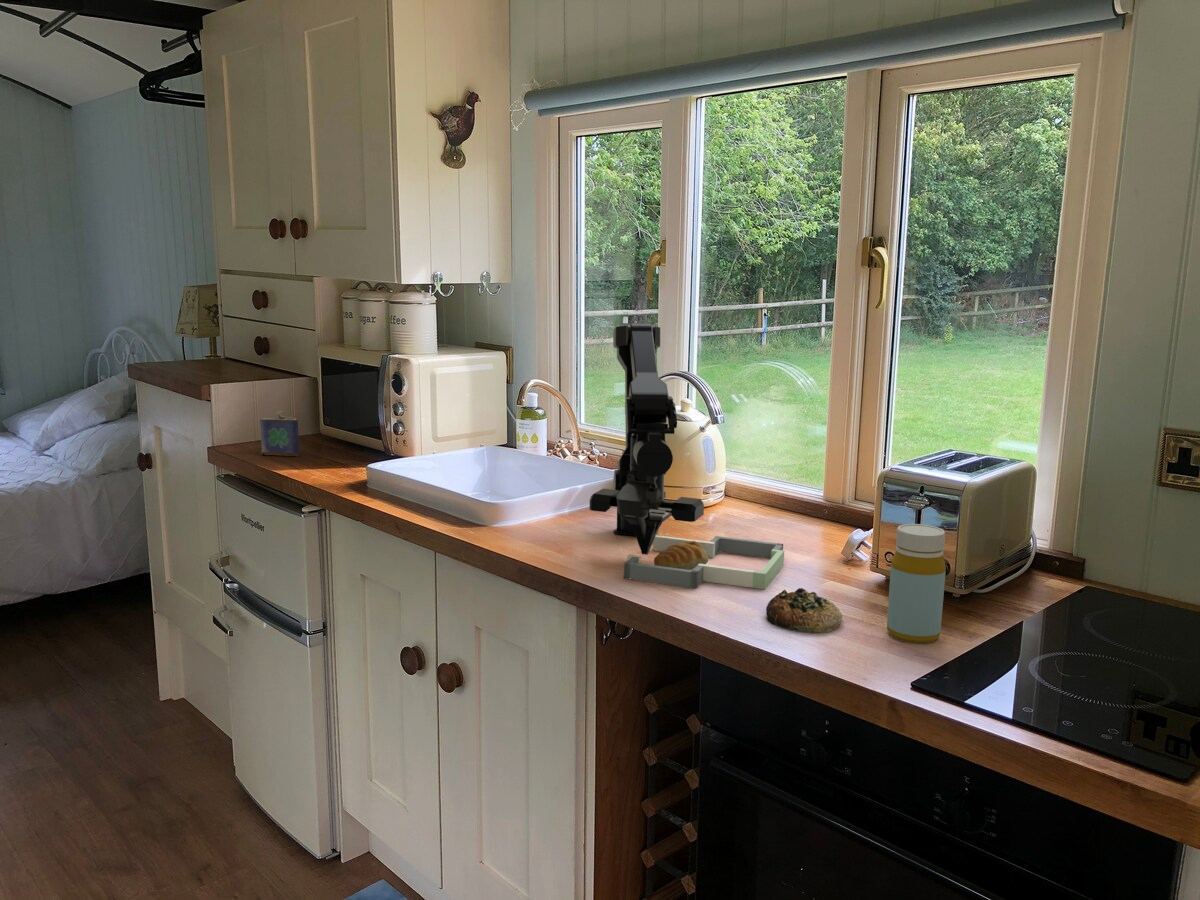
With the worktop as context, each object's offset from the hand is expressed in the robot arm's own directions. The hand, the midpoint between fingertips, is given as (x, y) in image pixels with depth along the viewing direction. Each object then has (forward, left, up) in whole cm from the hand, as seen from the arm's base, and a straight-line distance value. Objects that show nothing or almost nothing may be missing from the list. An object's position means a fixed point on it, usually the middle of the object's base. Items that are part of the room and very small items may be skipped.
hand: (645, 553), depth 168 cm
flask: (-116, +47, -1) cm, 125 cm away
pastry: (+6, 0, -2) cm, 7 cm away
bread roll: (+30, -18, -2) cm, 35 cm away
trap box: (+10, 0, -1) cm, 10 cm away
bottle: (+45, -18, -1) cm, 49 cm away
